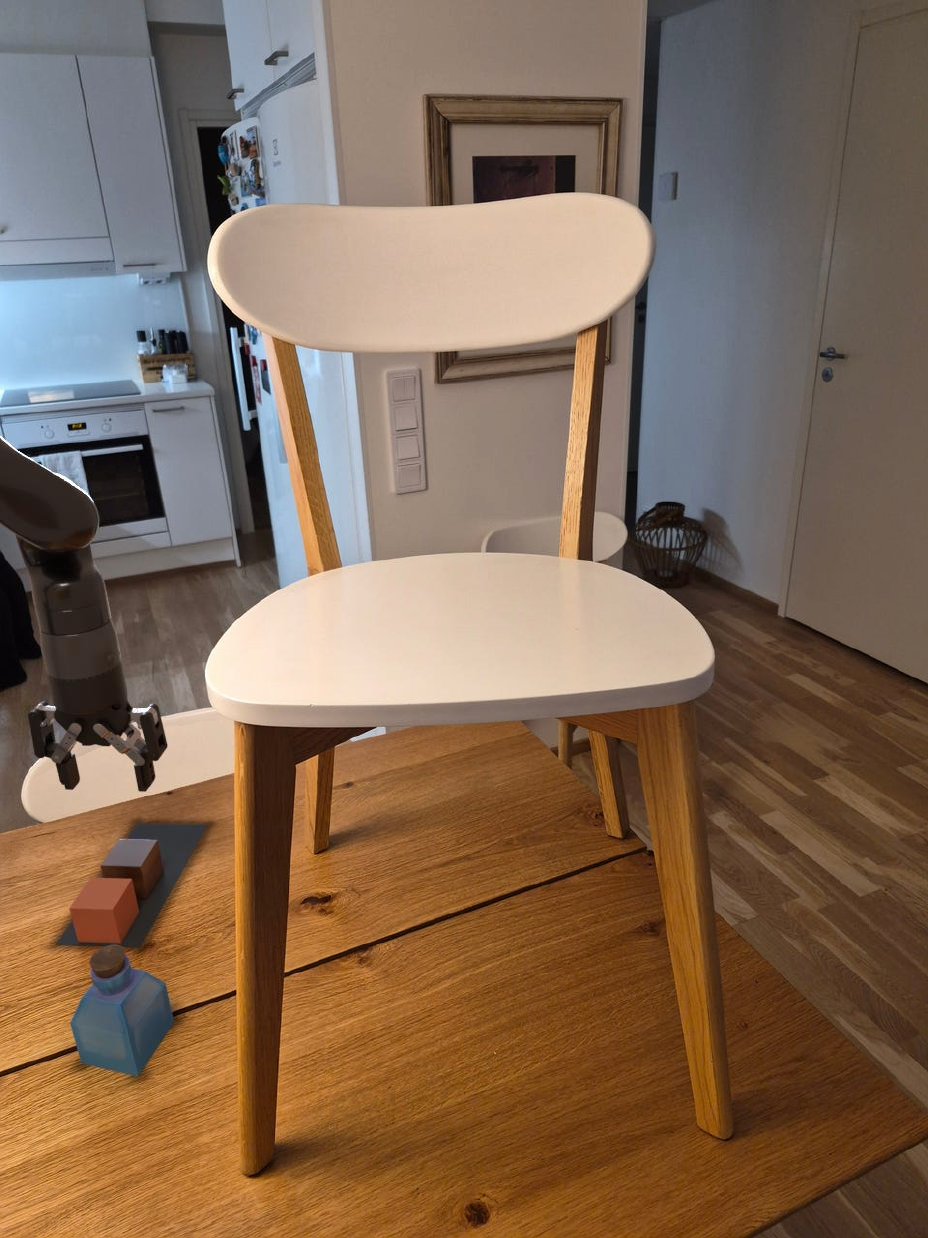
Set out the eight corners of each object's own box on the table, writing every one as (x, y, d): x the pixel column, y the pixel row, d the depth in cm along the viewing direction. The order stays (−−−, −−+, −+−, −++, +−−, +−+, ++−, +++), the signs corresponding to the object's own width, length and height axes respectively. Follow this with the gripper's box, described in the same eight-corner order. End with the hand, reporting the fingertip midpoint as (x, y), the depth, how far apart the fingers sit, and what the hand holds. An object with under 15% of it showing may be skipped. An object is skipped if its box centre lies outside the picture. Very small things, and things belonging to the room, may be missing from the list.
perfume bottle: (83, 1069, 80) (56, 977, 75) (121, 1016, 85) (99, 928, 80) (139, 1082, 78) (116, 989, 74) (175, 1028, 84) (155, 938, 79)
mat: (56, 950, 94) (45, 911, 91) (137, 827, 114) (130, 793, 111) (141, 953, 93) (132, 914, 91) (208, 829, 113) (202, 794, 111)
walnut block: (107, 898, 100) (100, 865, 98) (125, 870, 105) (118, 838, 103) (147, 899, 100) (140, 867, 98) (164, 871, 104) (157, 839, 102)
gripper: (162, 647, 92) (181, 770, 98) (37, 644, 92) (64, 767, 99) (134, 678, 85) (157, 808, 91) (-1, 675, 85) (31, 804, 92)
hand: (109, 786), depth 95 cm, fingers open, 8 cm apart
